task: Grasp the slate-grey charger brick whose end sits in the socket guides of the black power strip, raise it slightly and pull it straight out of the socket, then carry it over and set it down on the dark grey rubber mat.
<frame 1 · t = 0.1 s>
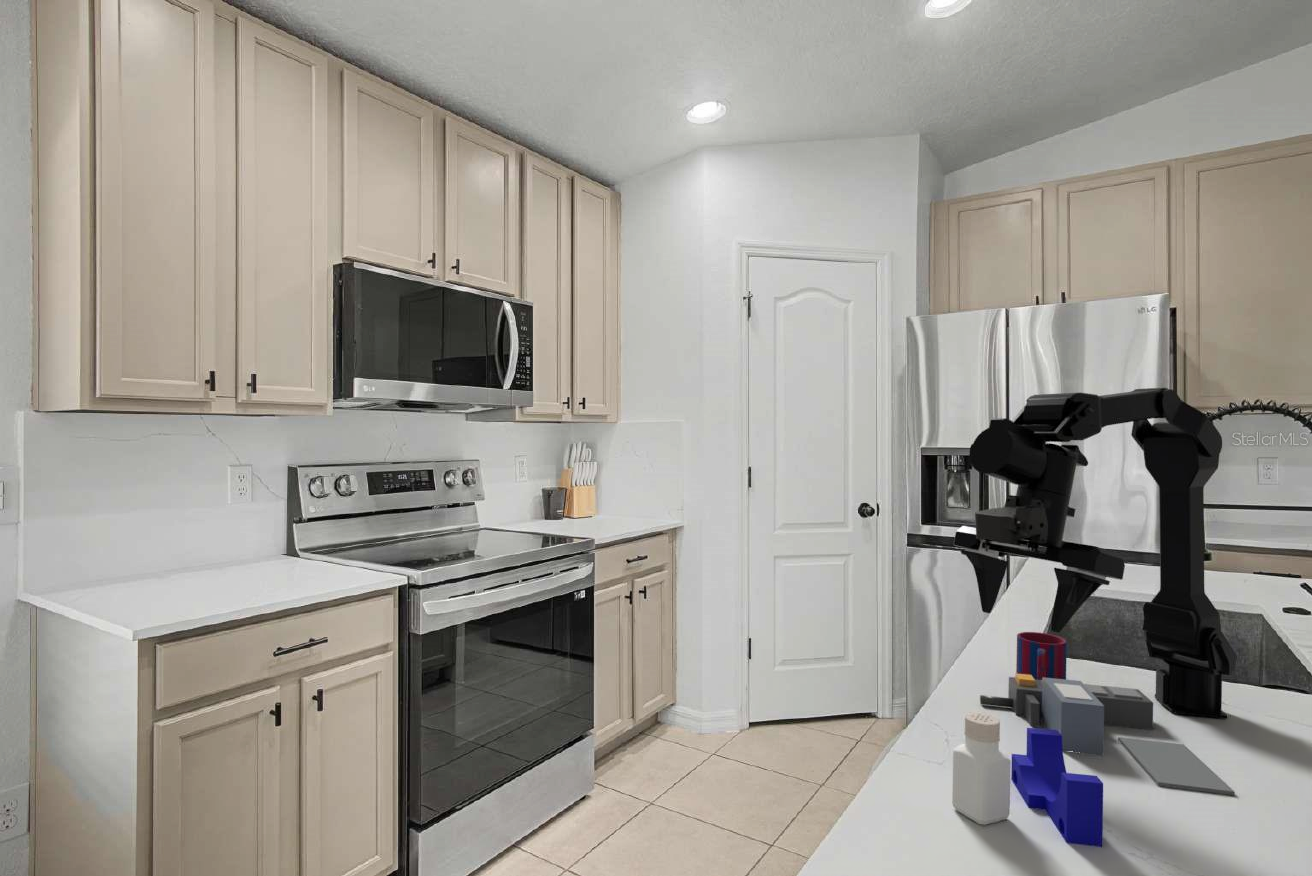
hand: (1018, 621, 85), 15 cm above the countertop, tool pointing down, fingers open, 9 cm apart
pepper shaker: (980, 816, 70), on the countertop
cable clip: (1052, 813, 71), on the countertop
mug: (1039, 686, 108), on the countertop
charger: (1070, 738, 89), on the countertop
power strip: (1077, 714, 96), on the countertop
mat: (1171, 765, 82), on the countertop
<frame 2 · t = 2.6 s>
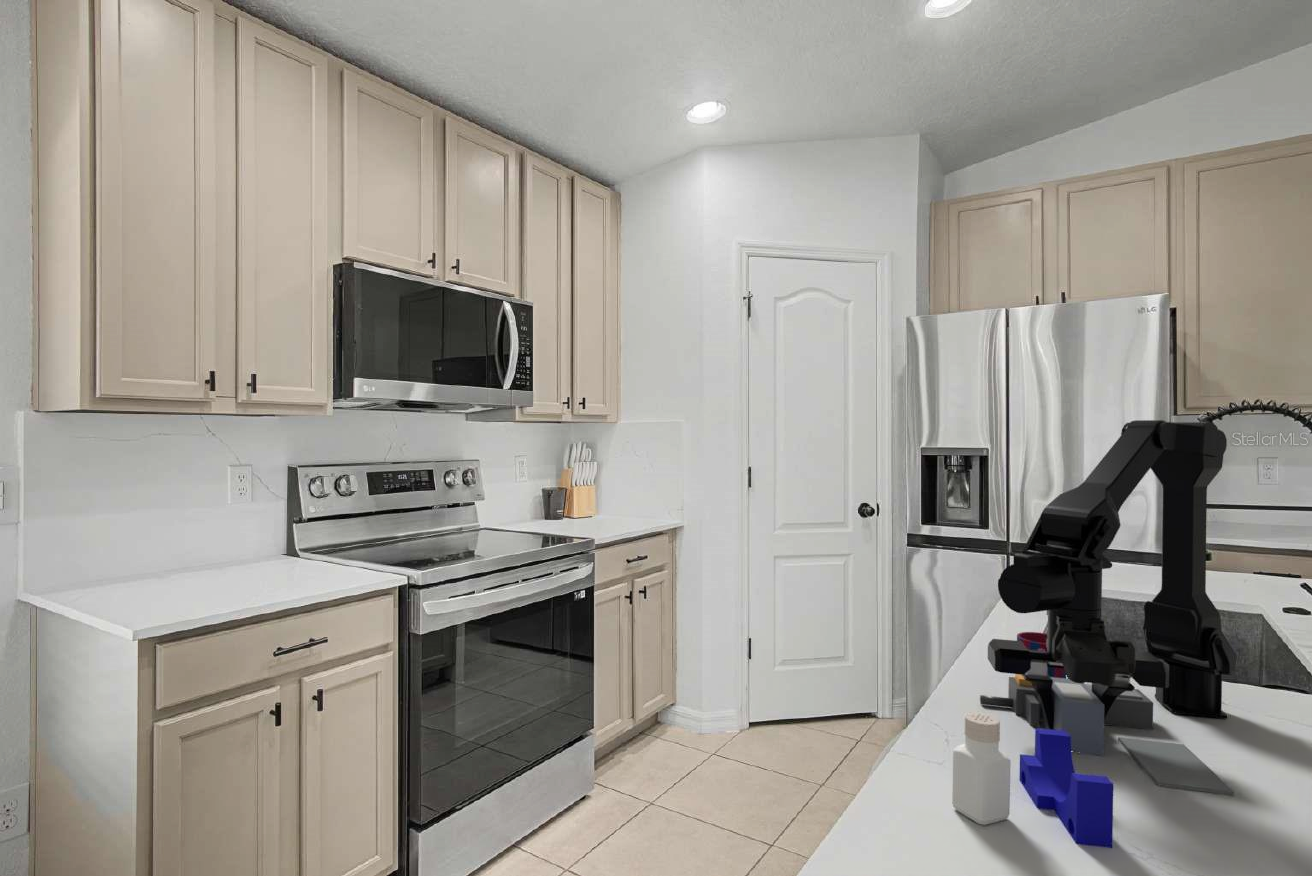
hand: (1072, 731, 88), 1 cm above the countertop, tool pointing down, fingers closed on charger, 4 cm apart
charger: (1070, 737, 89), on the countertop, touching gripper
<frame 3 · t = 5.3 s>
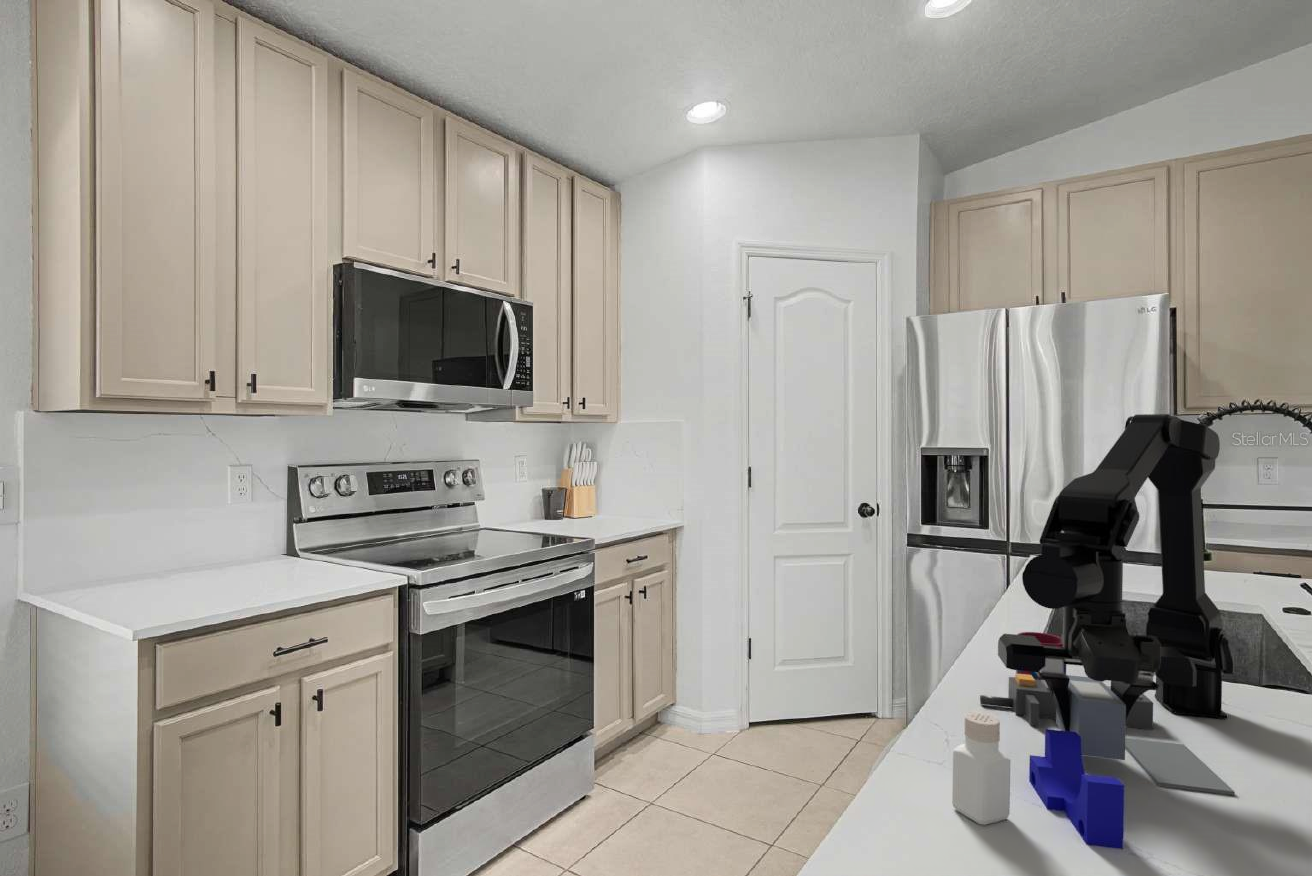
hand: (1089, 733, 82), 4 cm above the countertop, tool pointing down, fingers closed on charger, 4 cm apart
charger: (1088, 740, 82), point 2 cm above the countertop, touching gripper
when the fingers open (3 cm above the countertop, at t = 8.3 s): charger drops 1 cm, resting on mat.
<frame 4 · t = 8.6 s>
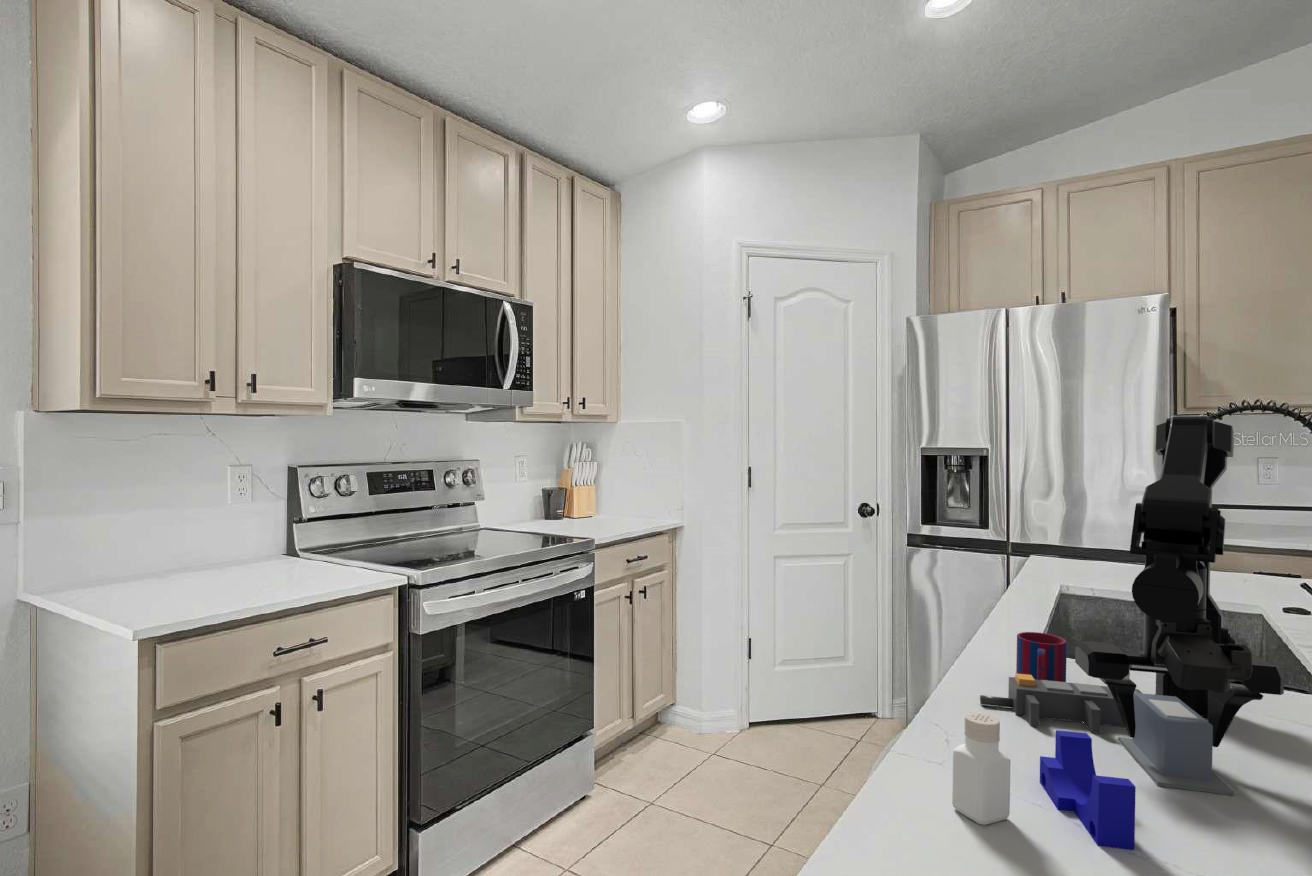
hand: (1171, 740, 82), 3 cm above the countertop, tool pointing down, fingers open, 8 cm apart
charger: (1169, 760, 82), resting on mat
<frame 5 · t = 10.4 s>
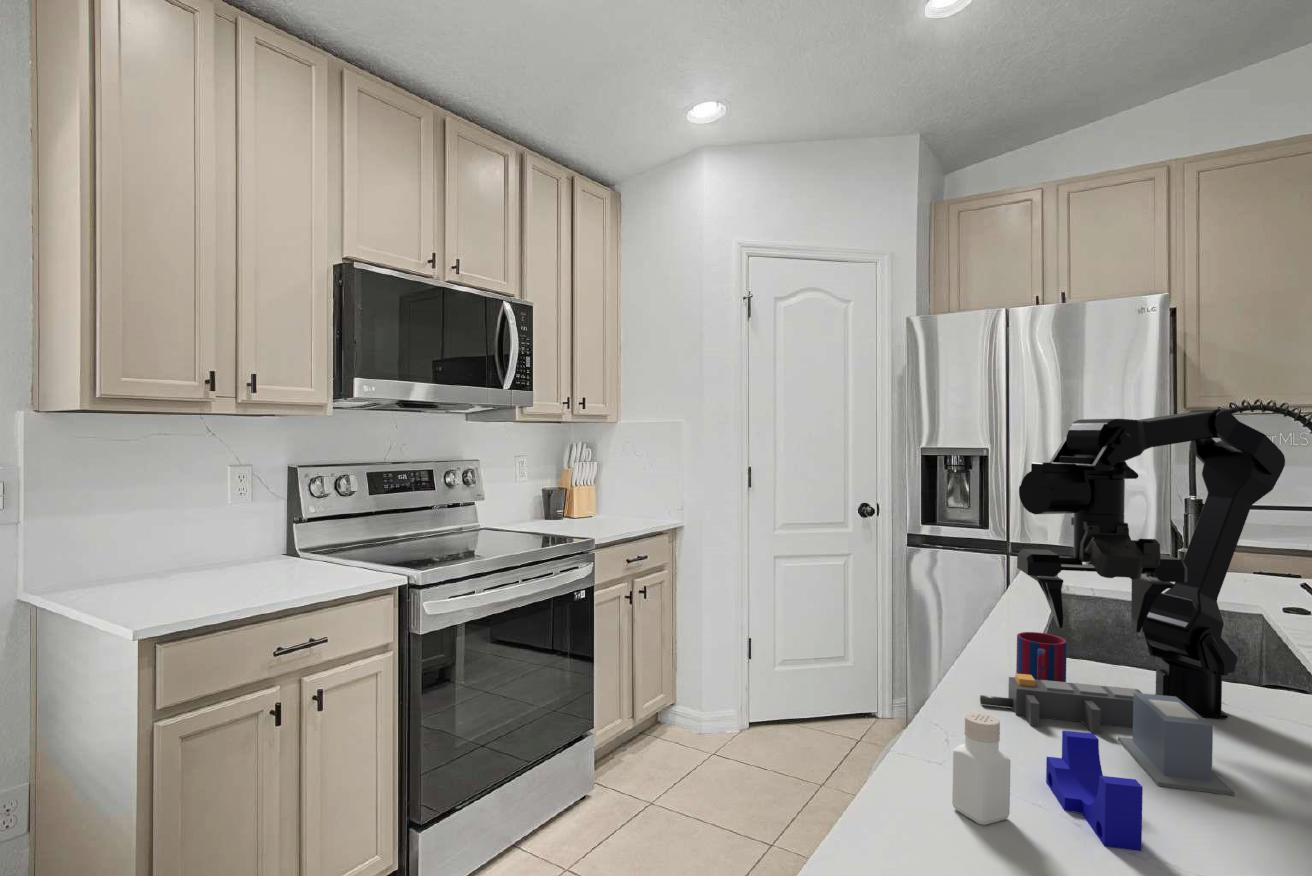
hand: (1097, 629, 95), 12 cm above the countertop, tool pointing down, fingers open, 9 cm apart
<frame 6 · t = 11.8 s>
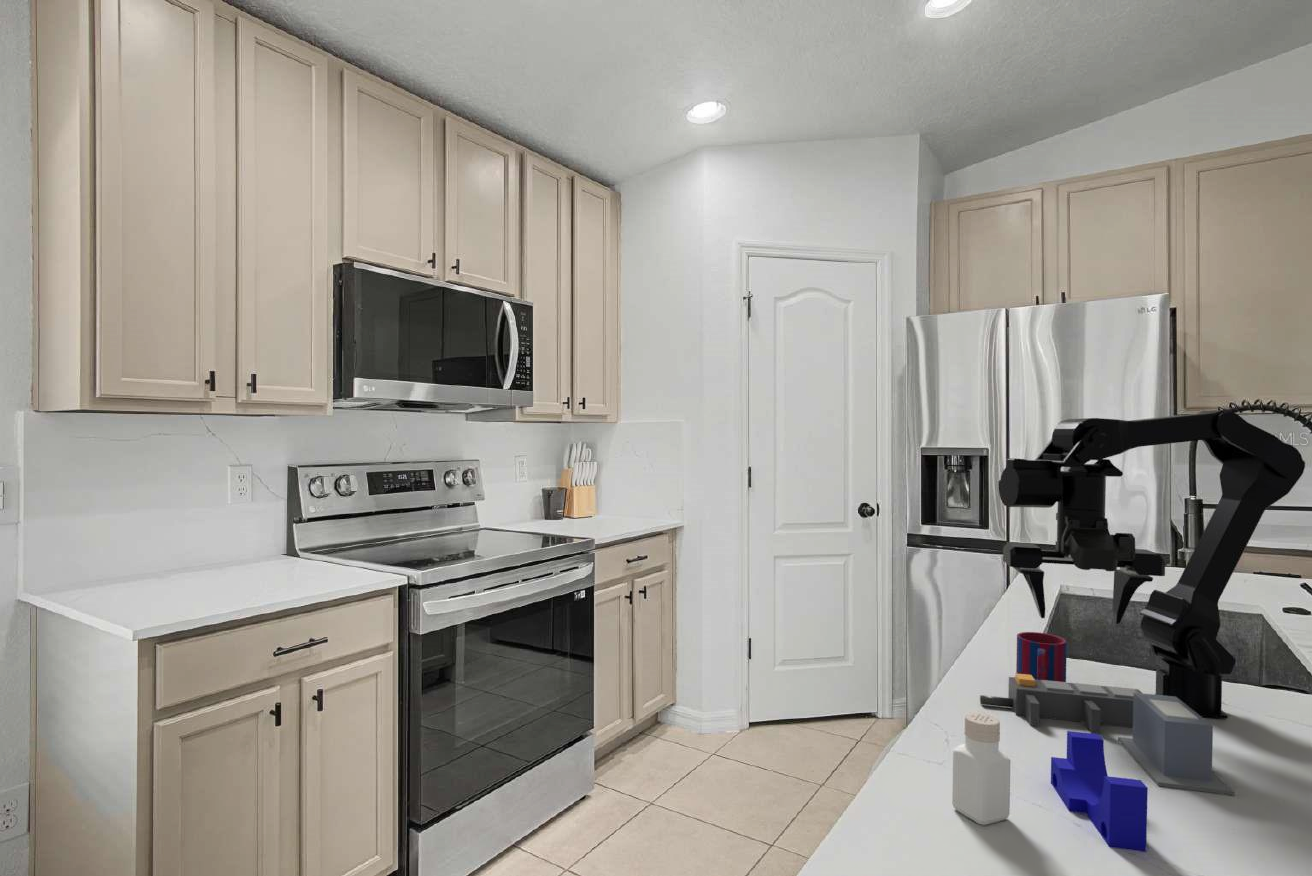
hand: (1078, 620, 99), 12 cm above the countertop, tool pointing down, fingers open, 9 cm apart
at the end: charger inside the target area on the mat (0.5 cm from its centre), point 0.4 cm above the mat's base; charger moved 10.1 cm from its start; the gripper is holding nothing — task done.
